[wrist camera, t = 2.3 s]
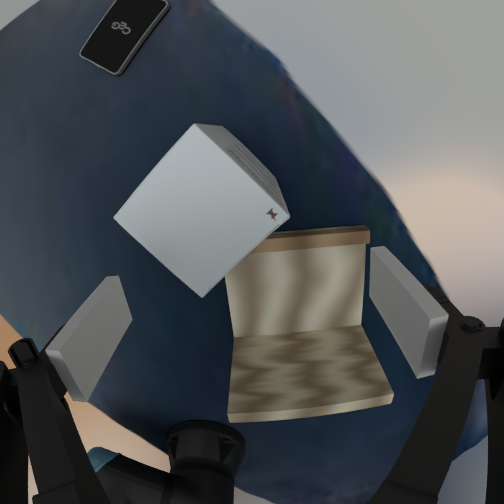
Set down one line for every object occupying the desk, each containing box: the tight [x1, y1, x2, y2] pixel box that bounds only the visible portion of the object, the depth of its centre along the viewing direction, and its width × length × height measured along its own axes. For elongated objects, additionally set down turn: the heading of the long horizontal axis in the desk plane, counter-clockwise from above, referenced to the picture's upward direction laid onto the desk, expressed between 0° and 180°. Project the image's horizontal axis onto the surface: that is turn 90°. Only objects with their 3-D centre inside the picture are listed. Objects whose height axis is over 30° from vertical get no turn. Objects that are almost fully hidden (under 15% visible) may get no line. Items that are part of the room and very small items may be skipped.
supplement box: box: [114, 124, 290, 297], centre depth 29 cm, size 10×9×17 cm
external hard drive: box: [80, 0, 170, 76], centre depth 30 cm, size 7×11×2 cm, turn 145°
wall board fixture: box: [225, 225, 394, 423], centre depth 35 cm, size 18×16×15 cm
